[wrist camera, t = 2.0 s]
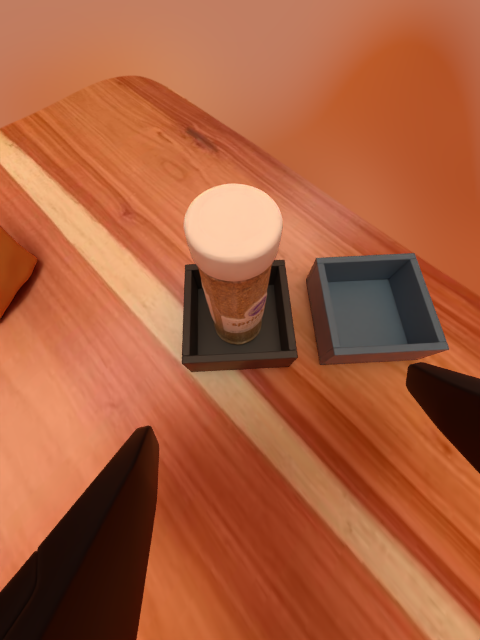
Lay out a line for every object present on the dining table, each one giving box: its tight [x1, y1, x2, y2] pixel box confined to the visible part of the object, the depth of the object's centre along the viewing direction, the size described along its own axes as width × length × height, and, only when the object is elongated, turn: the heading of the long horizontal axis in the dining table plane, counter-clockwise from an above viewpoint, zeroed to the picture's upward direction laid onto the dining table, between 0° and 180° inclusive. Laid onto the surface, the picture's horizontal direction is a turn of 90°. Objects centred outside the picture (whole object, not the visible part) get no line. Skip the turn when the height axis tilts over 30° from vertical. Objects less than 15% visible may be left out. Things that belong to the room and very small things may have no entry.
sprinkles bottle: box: [184, 184, 283, 345], centre depth 17 cm, size 5×5×14 cm
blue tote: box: [306, 253, 449, 365], centre depth 22 cm, size 9×9×4 cm
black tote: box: [182, 260, 298, 372], centre depth 22 cm, size 9×9×4 cm
